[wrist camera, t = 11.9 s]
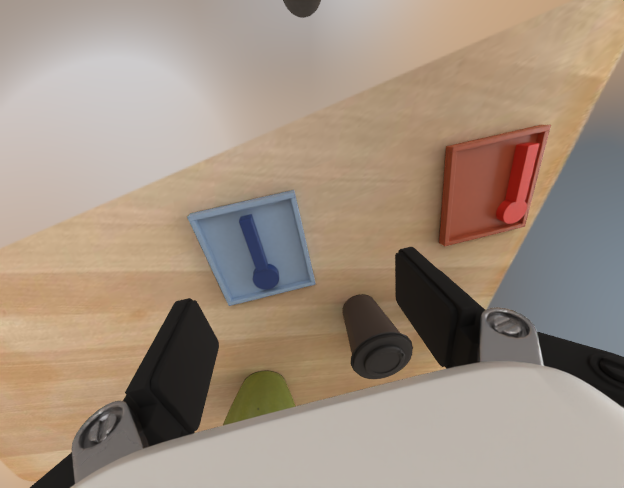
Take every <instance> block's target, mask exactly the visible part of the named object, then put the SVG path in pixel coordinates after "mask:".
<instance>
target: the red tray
mask: <svg viewBox="0 0 624 488" xmlns="http://www.w3.org/2000/svg"><path fill="white" fill-rule="evenodd" d="M550 127H551V125H538V126H534V127H530V128H525V129H521V130H516V131H512V132H508V133H503V134H499V135H494V136H490V137H486V138H481V139H477V140H472V141H468V142H463V143H459V144H455V145H450V146H446V157H445V170H444V184H443V198H442V212H441V225H440V239H439V243H440V244H442V245H443V246H448V245H452V244H456V243H460V242H464V241H469V240H473V239H477V238H481V237H485V236H489V235H493V234H497V233H501V232H505V231H509V230H513V229H517V228H521V227H525V224H526V220H527V216H528V213H529V209H530V205H531V201H532V197H533V193H534V189H535V185H536V181H537V178H538V174H539V170H540V166H541V162H542V158H543V154H544V150H545V146H546V143H547V139H548V135H549V130H550ZM522 143H539V147H538V151H537V155H536V159H535V163H534V168H533V172H532V176H531V180H530V184H529V188H528V192H527V196H526V200H525V202H526V203H527V210H526V213H525V214H524V216H523V217H522V218H521V219H520V220H519V221H517V222H515V223H512V224H507V223H505V222H502V221H500V220H498V219H497V217H496V211H497V208H498V207H499V205H500V204H501V203H502V202H503V201H504V200H505V198H506V193H507V188H508V183H509V178H510V173H511V168H512V163H513V158H514V153H515V148H516V145H518V144H522Z"/></svg>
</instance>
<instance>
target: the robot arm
mask: <svg viewBox="0 0 624 488" xmlns="http://www.w3.org/2000/svg"><path fill="white" fill-rule="evenodd" d="M395 277H396V301H397V303H398V305H399V306H400V308H401V309H402V311H403V312H404V314H405V315H406V317H407V318H408V319H409V321H410V322H411V324H412V325H413V327H414V328H415V330H416V331H417V333H418V334H419V336H420V337H421V338H422V340H423V341H424V343H425V344H426V346H427V347H428V349H429V350H430V352H431V353H432V355H433V356H434V357H435V359H436V360H437V362H438V363H439V364H440V366H442V367H444V366H445V367H446V369H443V370H439V371H435V372H431V373H426V374H422V375H418V376H414V377H410V378H406V379H402V380H398V381H394V382H390V383H386V384H382V385H378V386H374V387H370V388H366V389H362V390H358V391H354V392H350V393H346V394H342V395H338V396H334V397H331V398H327V399H323V400H319V401H315V402H311V403H307V404H303V405H300V406H296V407H292V408H288V409H284V410H280V411H276V412H273V413H269V414H265V415H261V416H257V417H254V418H250V419H246V420H242V421H238V422H235V423H231V424H227V425H223V426H220V427H216V428H212V429H208V430H204V431H201V432H197V433H194V432H195V431H196V430H197V429H198V428H199V425H200V421H201V417H202V413H203V409H204V405H205V401H206V397H207V393H208V389H209V385H210V381H211V377H212V373H213V369H214V365H215V361H216V357H217V352H218V348H219V342H218V339H217V337H216V336H215V334H214V332H213V330H212V328H211V327H210V325H209V323H208V321H207V319H206V317H205V316H204V314H203V312H202V310H201V308H200V307H199V305H198V303H197V301H195V300H194V301H193V300H192V299H190V298H188V299H184V300H180V301H176V302H175V303H174V305H173V307H172V309H171V310H170V312H169V314H168V316H167V318H166V319H165V321H164V323H163V325H162V327H161V328H160V330H159V332H158V334H157V336H156V337H155V339H154V341H153V343H152V345H151V346H150V348H149V350H148V352H147V354H146V355H145V357H144V359H143V361H142V363H141V365H140V366H139V368H138V370H137V372H136V374H135V375H134V377H133V379H132V381H131V383H130V384H129V386H128V388H127V390H126V392H125V393H126V394H127V395H126V396H125V398H124V400H123V401H115V402H112V403H110V404H107V405H105V406H104V407H102V408H101V409H99V410H98V411H96V412H95V413H94V414H93V415H92V416H91V417H89V419H88V420H87V421H86V422H85V423H84V424H83V425H82V426H81V428H80V429H79V431H78V432H77V434H76V436H75V438H74V440H73V443H72V453H70V454H69V455H68V456H67V457H66V458H64V459H63V460H62V461H61V462H60V463H59V464H57V465H56V466H55V467H54V468H53V469H51V470H50V471H49V472H48V473H47V474H45V475H44V476H43V477H42V478H41V479H40V480H38V481H37V482H36V483H35V484H34V485H32V486H31V487H30V488H624V357H622V356H619V355H616V354H614V353H610V352H607V351H603V350H600V349H596V348H593V347H589V346H586V345H582V344H579V343H575V342H572V341H568V340H565V339H561V338H558V337H554V336H550V335H547V334H544V333H540V332H537V330H536V328H535V326H534V324H533V323H532V322H531V321H530V320H529V319H527V318H526V317H525V316H523V315H522V314H519V313H517V312H515V311H513V310H509V309H505V308H490V309H487V310H485V309H484V308H482V307H481V306H480V305H479V304H478V303H477V302H476V301H475V300H473V299H472V298H471V297H470V296H469V295H468V294H467V293H466V292H464V291H463V290H462V289H461V288H460V287H459V286H458V285H456V284H455V283H454V282H453V281H452V280H451V279H450V278H449V277H447V276H446V275H445V274H444V273H443V272H442V271H440V270H438V269H437V268H436V267H435V266H434V265H433V264H432V263H430V262H429V261H428V260H427V259H426V258H425V257H424V256H423V255H421V254H420V253H419V252H418V251H417V250H416V249H415V248H413V247H408V248H403V249H400V250H399V252H398V253H396V255H395Z"/></svg>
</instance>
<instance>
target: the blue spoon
mask: <svg viewBox="0 0 624 488" xmlns="http://www.w3.org/2000/svg"><path fill="white" fill-rule="evenodd" d="M239 224H240V226H241V229H242V232H243V235H244V237H245V240H246V243H247V246H248V249H249V251H250V254H251V257H252V260H253V262H254V265H255V270H254V272H253V283H254V284H255V286H256V287H258V288H260V289H263V290H269V289H272V288H274V287H275V286H276V285H277V284H278V282H279V271H278V269H277V268H276V267H275V266H274V265H271V264H268V262H267V259H266V256H265V252H264V249H263V246H262V243H261V240H260V237H259V234H258V231H257V228H256V225H255V222H254V219H253V216H252V214H249V215H245V216H241V217H240V219H239Z"/></svg>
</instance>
